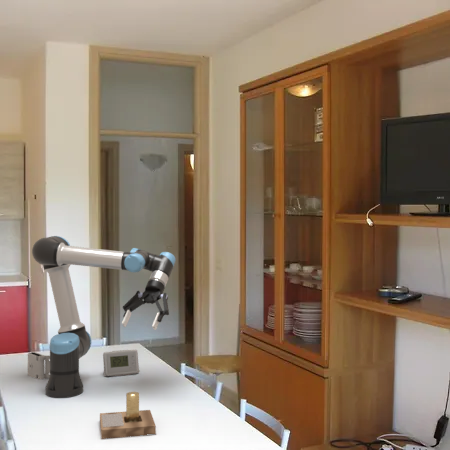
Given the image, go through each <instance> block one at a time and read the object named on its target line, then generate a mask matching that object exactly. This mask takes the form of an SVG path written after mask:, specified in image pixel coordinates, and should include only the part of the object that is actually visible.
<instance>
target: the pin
mask: <svg viewBox="0 0 450 450" xmlns="http://www.w3.org/2000/svg"><path fill="white" fill-rule="evenodd" d="M125 395H126V397H125V398H126V401H125V403H126V408H125V409H126V411H125V412H126V423H128V422H139V411H140V392H138V391H129V392H126V394H125Z"/></svg>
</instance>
